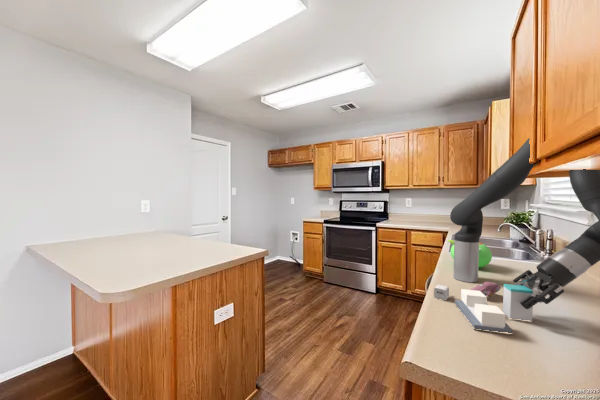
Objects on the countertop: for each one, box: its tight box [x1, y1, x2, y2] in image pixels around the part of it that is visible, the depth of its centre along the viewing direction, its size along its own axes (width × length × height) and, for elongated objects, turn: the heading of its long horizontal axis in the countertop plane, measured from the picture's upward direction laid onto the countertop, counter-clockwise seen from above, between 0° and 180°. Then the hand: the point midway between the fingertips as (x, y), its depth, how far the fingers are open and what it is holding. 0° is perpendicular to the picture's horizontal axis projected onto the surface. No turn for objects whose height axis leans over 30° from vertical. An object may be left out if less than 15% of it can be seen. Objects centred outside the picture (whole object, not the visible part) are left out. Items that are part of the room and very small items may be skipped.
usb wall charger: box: [433, 284, 450, 301], centre depth 93 cm, size 4×7×4 cm, turn 138°
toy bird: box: [447, 239, 493, 268], centre depth 131 cm, size 18×17×15 cm
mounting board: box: [454, 288, 514, 333], centre depth 77 cm, size 17×9×6 cm, turn 164°
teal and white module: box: [502, 283, 534, 322], centre depth 77 cm, size 4×6×10 cm
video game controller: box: [469, 281, 502, 297], centre depth 93 cm, size 10×5×7 cm, turn 106°
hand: (515, 300), depth 78 cm, fingers open, 8 cm apart
